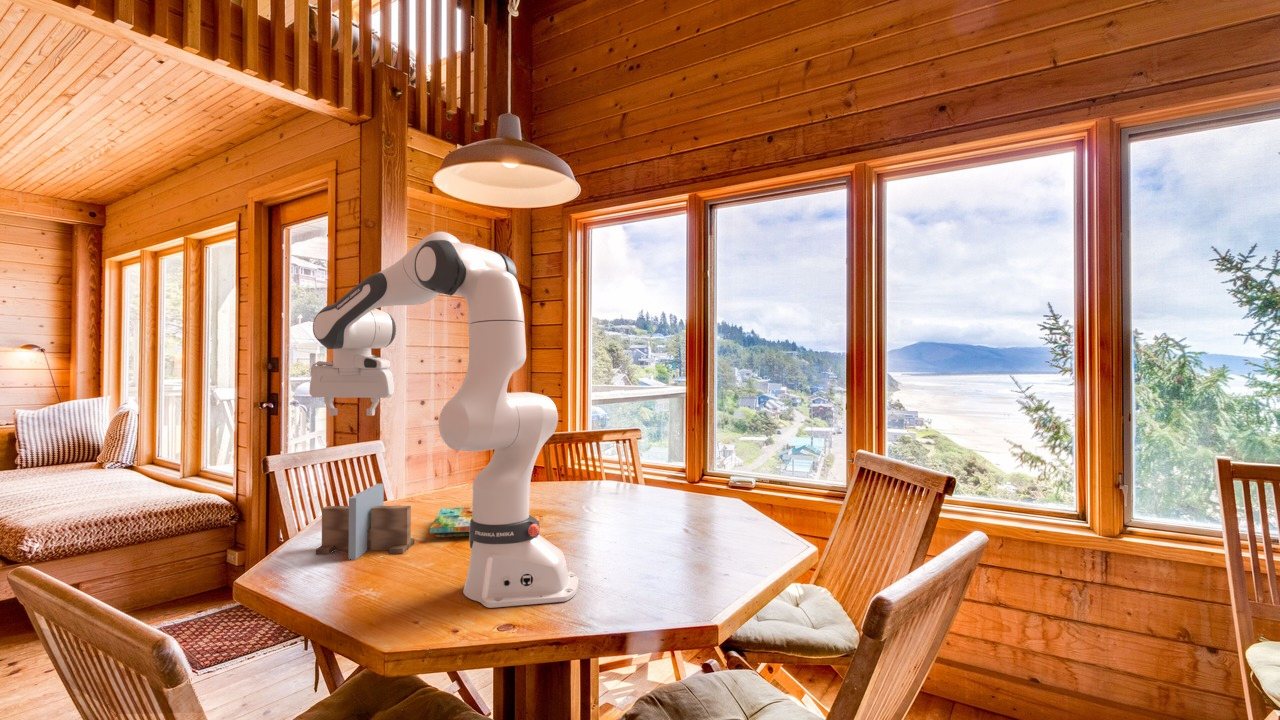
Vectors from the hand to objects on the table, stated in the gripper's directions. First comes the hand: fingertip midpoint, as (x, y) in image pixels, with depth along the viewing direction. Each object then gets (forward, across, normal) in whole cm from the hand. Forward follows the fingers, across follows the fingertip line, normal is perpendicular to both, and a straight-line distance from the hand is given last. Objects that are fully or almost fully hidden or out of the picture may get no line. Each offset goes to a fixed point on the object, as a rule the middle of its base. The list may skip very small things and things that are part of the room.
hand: (351, 415), depth 153 cm
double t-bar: (+31, +8, -10) cm, 34 cm away
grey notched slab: (+31, +8, -10) cm, 34 cm away
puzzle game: (+32, +26, +6) cm, 41 cm away
